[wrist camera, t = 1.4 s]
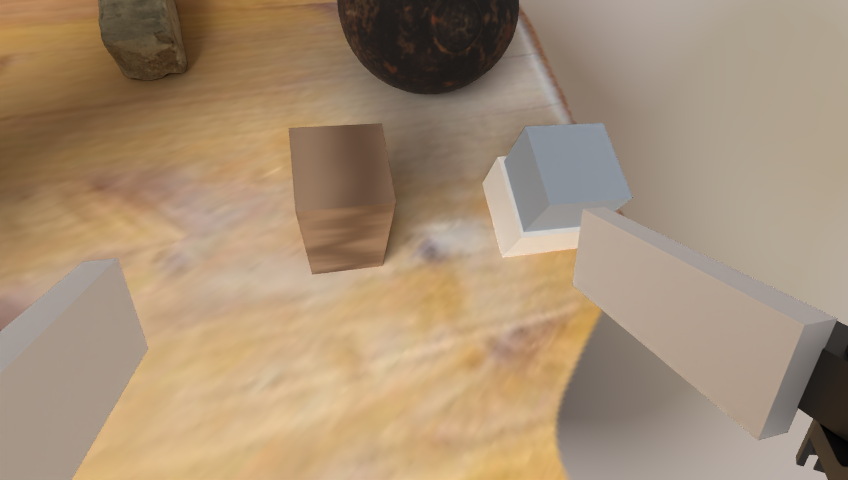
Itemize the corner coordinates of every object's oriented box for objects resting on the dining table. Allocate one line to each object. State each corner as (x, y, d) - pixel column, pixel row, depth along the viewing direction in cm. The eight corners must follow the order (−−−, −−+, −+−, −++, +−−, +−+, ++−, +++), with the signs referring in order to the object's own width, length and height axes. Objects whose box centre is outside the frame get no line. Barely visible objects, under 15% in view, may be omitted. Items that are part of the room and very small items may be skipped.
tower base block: (501, 258, 39) (521, 237, 34) (481, 184, 42) (497, 156, 37) (576, 249, 41) (604, 228, 36) (552, 178, 44) (576, 151, 39)
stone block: (176, -3, 45) (156, -50, 40) (193, 79, 41) (174, 37, 37) (115, 2, 43) (87, -47, 38) (128, 88, 39) (99, 45, 35)
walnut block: (312, 274, 35) (295, 211, 24) (306, 211, 37) (288, 127, 26) (382, 265, 37) (395, 202, 26) (372, 205, 39) (381, 123, 28)
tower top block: (523, 232, 35) (550, 205, 30) (503, 161, 37) (525, 126, 33) (597, 224, 36) (632, 197, 32) (573, 157, 39) (603, 122, 34)
